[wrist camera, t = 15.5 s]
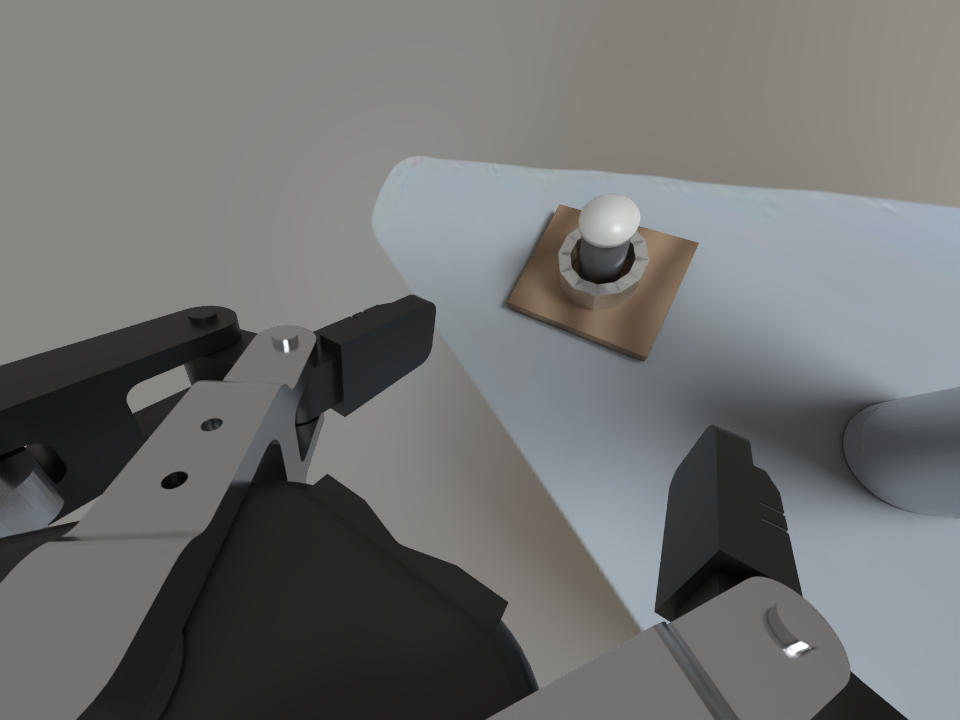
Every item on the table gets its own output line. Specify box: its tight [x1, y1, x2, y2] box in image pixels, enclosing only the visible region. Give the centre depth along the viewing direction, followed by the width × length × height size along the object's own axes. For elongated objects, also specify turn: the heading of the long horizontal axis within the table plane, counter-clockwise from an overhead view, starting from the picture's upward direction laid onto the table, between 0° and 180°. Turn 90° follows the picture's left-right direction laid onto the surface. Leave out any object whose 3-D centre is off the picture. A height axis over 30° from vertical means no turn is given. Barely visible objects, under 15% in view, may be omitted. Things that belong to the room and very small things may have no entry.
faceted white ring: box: [558, 228, 649, 310], centre depth 38 cm, size 9×9×4 cm
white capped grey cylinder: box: [579, 194, 640, 285], centre depth 35 cm, size 5×5×10 cm
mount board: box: [507, 205, 699, 361], centre depth 40 cm, size 16×14×2 cm
